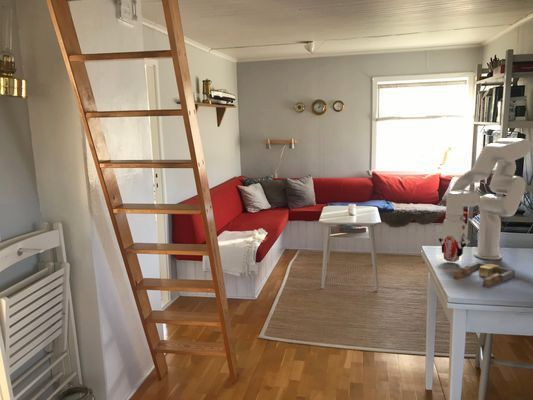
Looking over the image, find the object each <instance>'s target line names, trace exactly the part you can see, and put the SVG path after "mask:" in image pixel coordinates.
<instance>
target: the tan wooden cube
mask: <svg viewBox="0 0 533 400" xmlns="http://www.w3.org/2000/svg"><path fill="white" fill-rule="evenodd" d="M493 268H494V267H490V266H486V265H484V266H480V267H479V268H478V269H479V270H478V276H481V277H482V278H483V277H484V278H487V277H489V276H492V275H493Z"/></svg>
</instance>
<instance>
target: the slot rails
mask: <svg viewBox="0 0 533 400" xmlns="http://www.w3.org/2000/svg"><path fill="white" fill-rule="evenodd" d="M466 266H467V267H465V266H464V267H462V268H459V269H457V270H454V271H453V279H455V280H459V279H461V278H464V277H465V276H467V275H471V272H472V271H471V267H469V266H468V265H466ZM500 275H501V274H498V273H496V274H494V275H492V276H489V277H484V278H483V279H482V280H483V281H482V287H485V288H489V287H490V286H492V285H494V284H497V283H499V282H501V281H500Z"/></svg>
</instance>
